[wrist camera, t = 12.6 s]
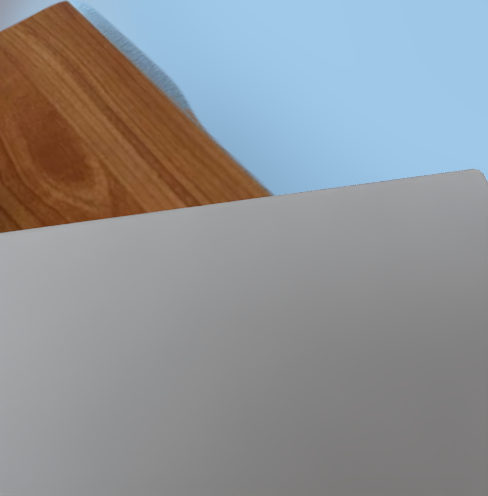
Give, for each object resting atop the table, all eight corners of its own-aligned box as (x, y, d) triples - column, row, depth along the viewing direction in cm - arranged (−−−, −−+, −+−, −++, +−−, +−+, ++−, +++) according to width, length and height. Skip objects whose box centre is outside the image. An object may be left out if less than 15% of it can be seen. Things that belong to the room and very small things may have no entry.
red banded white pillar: (331, 501, 13) (946, 1078, 2) (195, 526, 13) (-252, 1433, 1) (301, 362, 15) (485, 163, 3) (183, 381, 15) (-42, 234, 3)
